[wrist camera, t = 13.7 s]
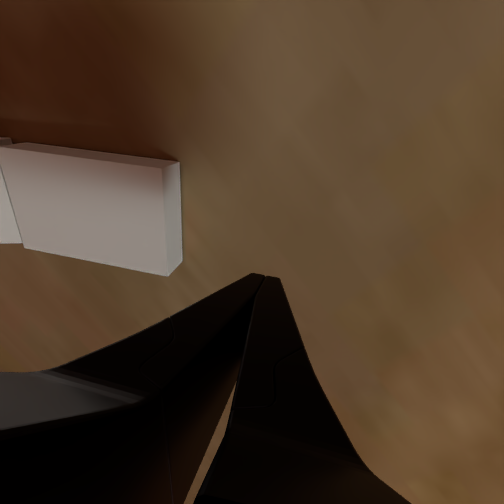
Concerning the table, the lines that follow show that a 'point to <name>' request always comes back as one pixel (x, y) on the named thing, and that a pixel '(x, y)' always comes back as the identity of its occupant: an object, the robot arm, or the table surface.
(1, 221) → the domino
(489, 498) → the table surface
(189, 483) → the robot arm
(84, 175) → the domino
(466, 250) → the table surface
